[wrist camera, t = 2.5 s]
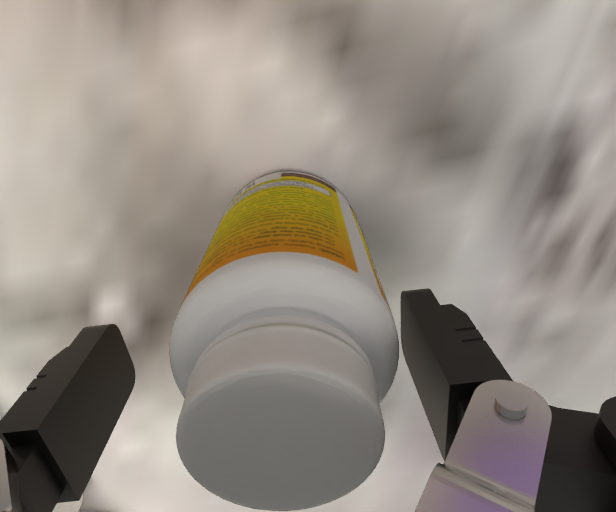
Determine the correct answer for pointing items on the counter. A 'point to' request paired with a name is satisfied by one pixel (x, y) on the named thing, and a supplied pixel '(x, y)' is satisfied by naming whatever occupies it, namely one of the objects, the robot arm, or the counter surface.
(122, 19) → the counter surface
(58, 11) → the counter surface
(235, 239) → the supplement bottle
